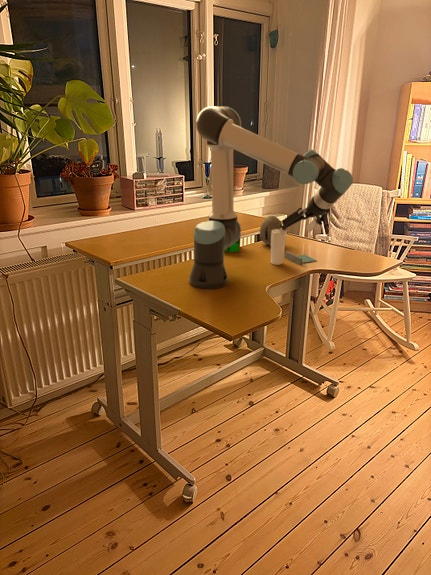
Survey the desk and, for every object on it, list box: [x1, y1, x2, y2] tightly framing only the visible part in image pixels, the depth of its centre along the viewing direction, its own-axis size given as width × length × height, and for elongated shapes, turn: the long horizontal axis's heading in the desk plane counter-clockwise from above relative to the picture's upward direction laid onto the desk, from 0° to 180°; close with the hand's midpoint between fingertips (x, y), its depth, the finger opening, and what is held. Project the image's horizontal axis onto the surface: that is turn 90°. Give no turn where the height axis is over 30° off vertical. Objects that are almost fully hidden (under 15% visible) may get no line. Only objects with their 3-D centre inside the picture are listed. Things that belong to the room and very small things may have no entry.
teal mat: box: [297, 254, 318, 264], centre depth 203 cm, size 9×9×1 cm
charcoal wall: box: [284, 250, 303, 266], centre depth 200 cm, size 1×12×3 cm, turn 25°
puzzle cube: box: [224, 233, 242, 253], centre depth 213 cm, size 10×10×10 cm
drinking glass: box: [270, 229, 288, 266], centre depth 194 cm, size 7×7×15 cm
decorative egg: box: [259, 215, 283, 246], centre depth 220 cm, size 12×12×15 cm
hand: (294, 231), depth 181 cm, fingers open, 13 cm apart
